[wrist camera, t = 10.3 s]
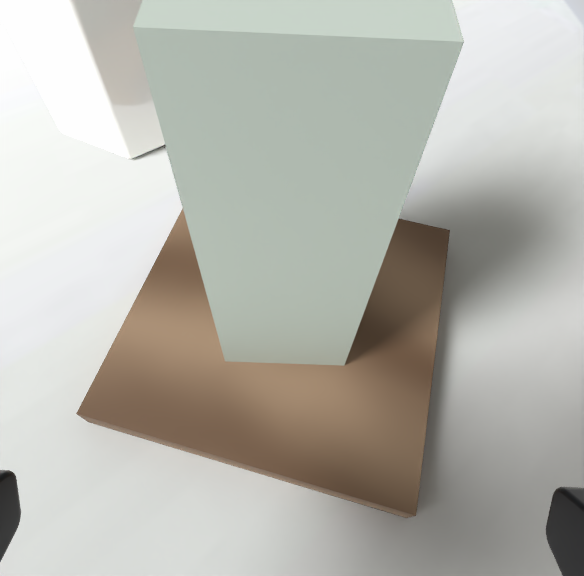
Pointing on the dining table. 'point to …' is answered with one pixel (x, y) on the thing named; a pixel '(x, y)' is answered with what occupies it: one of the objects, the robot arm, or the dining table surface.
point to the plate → (284, 380)
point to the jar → (88, 70)
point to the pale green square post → (294, 153)
